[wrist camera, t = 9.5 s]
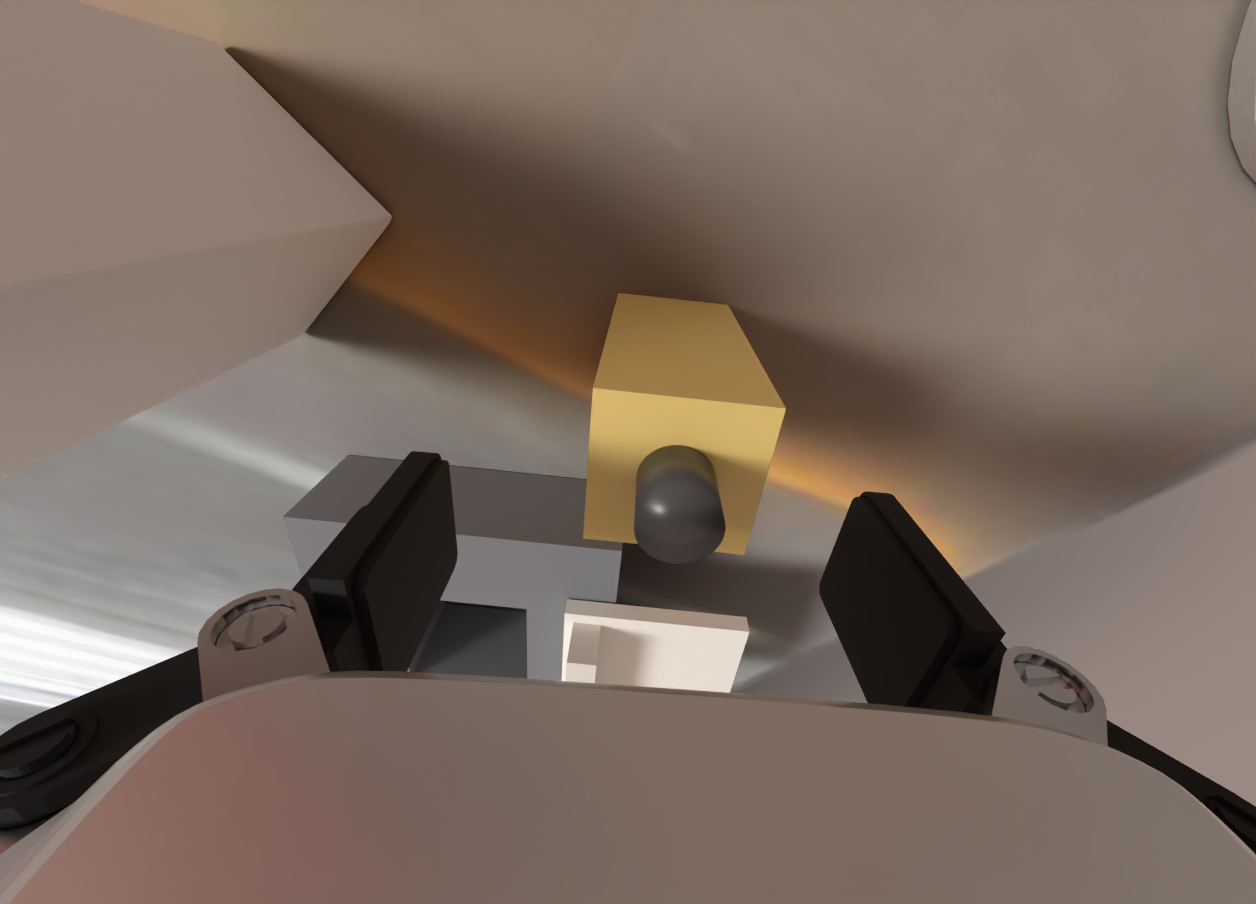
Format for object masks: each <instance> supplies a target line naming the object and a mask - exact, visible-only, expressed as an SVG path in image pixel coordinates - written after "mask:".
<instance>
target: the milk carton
mask: <svg viewBox="0 0 1256 904" xmlns="http://www.w3.org/2000/svg"><path fill="white" fill-rule="evenodd" d="M391 219H392V216H391V215H390V213H389V212H388V211H387V210H386V209H385V208H384V207H383V206H382V205H381V204H380V203H379V202H378V201H377V200H376V199H375V198H374V197H372V196H371V195H370V194H369V193H368V192H367V191H366V190H365V189H364V188H363V187H362V186H361V185H360V184H359V183H358V182H357V181H356V180H355V179H354V178H353V177H352V176H351V175H350V174H349V173H348V172H347V171H346V170H345V169H344V168H343V167H342V166H341V165H340V164H339V163H338V162H337V161H336V160H335V159H334V158H333V157H332V156H331V155H330V154H329V153H328V152H327V151H326V150H325V149H324V148H323V147H322V146H321V145H320V144H319V143H318V142H317V141H316V140H315V139H314V138H313V137H312V136H311V135H310V134H309V133H308V132H307V131H306V130H305V129H304V128H303V127H302V126H301V125H300V124H299V123H298V122H297V121H296V120H295V119H294V118H293V117H292V116H291V115H290V114H289V113H288V112H287V111H286V110H285V109H284V108H283V107H282V106H281V105H280V104H279V103H278V102H277V101H276V100H274V99H273V98H272V97H271V96H270V95H269V94H268V93H267V92H266V91H265V90H264V89H263V88H262V87H261V86H260V85H259V84H258V83H257V82H256V81H255V80H254V79H253V78H252V77H251V76H250V75H249V74H248V73H247V72H246V71H245V70H244V69H243V68H242V67H241V66H240V65H239V64H238V63H237V62H236V61H235V60H234V59H233V58H232V57H231V56H230V55H229V54H228V53H227V52H226V51H225V50H224V49H223V48H222V47H221V46H220V45H219V44H218V43H216V42H214V41H212V40H209V39H206V38H202V37H199V36H195V35H192V34H188V33H185V32H182V31H178V30H175V29H171V28H168V27H164V26H161V25H158V24H154V23H151V22H147V21H144V20H140V19H137V18H134V17H130V16H127V15H123V14H120V13H116V12H113V11H110V10H106V9H103V8H99V7H96V6H92V5H89V4H86V3H82V2H79V1H75V0H0V479H2V478H4V477H6V476H8V475H10V474H12V473H14V472H16V471H18V470H20V469H23V468H25V467H27V466H29V465H31V464H33V463H35V462H37V461H39V460H41V459H44V458H46V457H48V456H50V455H52V454H54V453H56V452H58V451H60V450H62V449H64V448H67V447H69V446H71V445H73V444H75V443H77V442H79V441H81V440H83V439H85V438H88V437H90V436H92V435H94V434H96V433H98V432H100V431H102V430H104V429H106V428H108V427H111V426H113V425H115V424H117V423H119V422H121V421H123V420H125V419H127V418H129V417H132V416H134V415H136V414H138V413H140V412H142V411H144V410H146V409H148V408H150V407H152V406H155V405H157V404H159V403H161V402H163V401H165V400H167V399H169V398H171V397H173V396H176V395H178V394H180V393H182V392H184V391H186V390H188V389H190V388H192V387H194V386H196V385H199V384H201V383H203V382H205V381H207V380H209V379H211V378H213V377H215V376H217V375H220V374H222V373H224V372H226V371H228V370H230V369H232V368H234V367H236V366H238V365H240V364H243V363H245V362H247V361H249V360H251V359H253V358H255V357H257V356H259V355H261V354H264V353H266V352H268V351H270V350H272V349H274V348H276V347H278V346H280V345H282V344H284V343H287V342H289V341H291V340H293V339H295V338H297V337H299V336H301V335H302V334H303V333H304V332H305V331H306V330H307V329H308V328H309V326H310V325H311V324H312V323H313V321H314V320H315V319H316V317H317V316H318V315H319V314H320V312H321V311H322V310H323V308H324V307H325V306H326V305H327V303H328V302H329V301H330V299H331V298H332V297H333V296H334V294H335V293H336V292H337V290H338V289H339V288H340V287H341V285H342V284H343V283H344V281H345V280H346V279H347V278H348V276H349V275H350V274H351V272H352V271H353V270H354V269H355V267H356V266H357V265H358V263H359V262H360V261H361V260H362V258H363V257H364V256H365V254H366V253H367V252H368V251H369V249H370V248H371V247H372V245H373V244H374V243H375V241H376V240H377V239H378V238H379V236H380V235H381V234H382V232H383V231H384V230H385V228H386V227H387V226H388V224H389V223H390V221H391Z"/></svg>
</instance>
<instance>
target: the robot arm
mask: <svg viewBox="0 0 1256 904" xmlns="http://www.w3.org/2000/svg"><path fill="white" fill-rule="evenodd" d="M1228 112H1229V122H1230V132H1231V139H1232V142H1233V144H1234V147H1235V149H1236V152H1237V154H1238V157H1239V159H1240V162H1241V165H1242V167H1243V168H1244V170H1245V171H1246V172H1247V173H1248V174H1249V175H1250V177H1251V178H1252V179H1253V180H1254V181H1255V182H1256V0H1252V1H1251V3H1250V5H1249V7H1248V10H1247V12H1246V16H1245V19H1244V23H1243V26H1242V29H1241V33H1240V36H1239V40H1238V43H1237V47H1236V50H1235V53H1234V57H1233V60H1232V69H1231V78H1230V86H1229V95H1228ZM457 556H458V550H457V540H456V529H455V519H454V509H453V498H452V488H451V477H450V467H449V463H448V461H446V460H442V459H441V456H440V455H439V454H438V453H427V452H416V451H413V452H411V453H410V454H409V455H408V456H407V457H406V458H405V460H404V461H403V462H402V463H401V464H400V466H399V467H398V468H397V469H396V471H395V472H394V473H393V474H392V475H391V477H390V478H389V479H388V480H387V482H386V483H385V484H384V485H383V486H382V488H381V489H380V490H379V491H378V493H377V494H376V495H375V496H374V497H373V499H372V500H371V501H370V502H369V504H368V505H366V506H363V507H361V508H360V509H359V510H358V511H357V512H356V513H355V515H354V516H353V517H352V518H351V519H350V521H349V522H348V523H347V524H346V525H345V527H344V528H343V529H342V530H341V531H340V533H339V534H338V535H337V536H336V537H335V539H334V540H333V541H332V542H331V543H330V545H329V546H328V547H327V548H326V549H325V551H324V552H323V553H322V554H321V555H320V557H319V558H318V559H317V560H316V561H315V563H314V564H313V565H312V566H311V567H310V569H309V570H308V571H307V572H306V573H305V575H304V576H303V577H302V578H301V579H300V581H299V582H298V583H297V584H296V585H295V587H294V588H293V589H292V590H288V589H281V588H279V589H266V590H262V591H258V592H254V593H250V594H247V595H245V596H243V597H240V598H238V599H236V600H233V601H232V602H230V603H228V604H227V605H225V606H224V607H222V608H220V609H219V610H218V611H217V612H215V613H214V614H213V615H212V616H211V617H210V618H209V619H208V620H207V621H206V622H205V624H204V626H203V627H202V629H201V630H200V632H199V637H198V642H197V644H198V647H196V648H194V649H191V650H189V651H186V652H184V653H182V654H179V655H177V656H175V657H172V658H170V659H167V660H165V661H163V662H160V663H158V664H156V665H153V666H151V667H148V668H146V669H144V670H141V671H139V672H137V673H134V674H132V675H129V676H127V677H125V678H122V679H120V680H118V681H115V682H113V683H110V684H108V685H106V686H103V687H101V688H99V689H96V690H94V691H91V692H89V693H87V694H84V695H82V696H80V697H77V698H75V699H72V700H70V701H68V702H65V703H63V704H61V705H58V706H56V707H53V708H51V709H49V710H46V711H44V712H42V713H39V714H37V715H35V716H33V717H31V718H29V719H27V720H25V721H23V722H21V723H19V724H17V725H16V726H14V727H13V728H11V729H10V730H8V731H7V732H5V733H4V734H2V735H1V736H0V904H1256V807H1255V806H1254V805H1252V804H1251V803H1249V802H1247V801H1245V800H1244V799H1242V798H1241V797H1239V796H1238V795H1236V794H1235V793H1233V792H1231V791H1229V790H1228V789H1226V788H1224V787H1222V786H1221V785H1219V784H1217V783H1215V782H1214V781H1212V780H1210V779H1209V778H1207V777H1205V776H1203V775H1201V774H1200V773H1198V772H1196V771H1195V770H1193V769H1191V768H1189V767H1188V766H1186V765H1184V764H1182V763H1181V762H1179V761H1177V760H1175V759H1174V758H1172V757H1170V756H1169V755H1167V754H1165V753H1163V752H1162V751H1160V750H1158V749H1156V748H1155V747H1153V746H1151V745H1149V744H1148V743H1146V742H1144V741H1142V740H1141V739H1139V738H1137V737H1136V736H1134V735H1132V734H1130V733H1129V732H1127V731H1125V730H1123V729H1121V728H1120V727H1118V726H1116V725H1115V724H1113V723H1111V722H1109V721H1107V716H1106V707H1105V704H1104V700H1103V698H1102V696H1101V695H1100V694H1099V692H1098V691H1097V689H1096V688H1095V686H1093V684H1092V683H1090V681H1089V680H1088V679H1087V678H1086V677H1085V676H1084V675H1082V674H1081V673H1080V672H1078V671H1077V670H1076V669H1074V668H1073V667H1072V666H1071V665H1069V664H1067V663H1066V662H1064V661H1062V660H1060V659H1059V658H1057V657H1055V656H1053V655H1051V654H1048V653H1046V652H1044V651H1041V650H1038V649H1034V648H1030V647H1023V646H1021V647H1019V646H1016V647H1012V648H1010V649H1007V648H1006V647H1005V646H1004V645H1003V643H1002V642H1001V641H1000V640H1001V639H1002V638H1003V636H1004V635H1005V632H1004V630H1003V629H1002V628H1001V627H1000V625H999V624H998V623H997V622H996V621H995V619H994V618H993V617H992V616H991V614H990V613H989V612H988V611H987V610H986V608H985V607H984V606H983V605H982V603H981V602H980V601H979V600H978V599H977V597H976V596H975V595H974V594H973V592H972V591H971V590H970V589H969V587H968V586H967V585H966V584H965V583H964V581H963V580H962V579H961V578H960V576H959V575H958V574H957V573H956V572H955V570H954V569H953V568H952V567H951V565H950V564H949V563H948V562H947V561H946V559H945V558H944V557H943V556H942V554H941V553H940V552H939V551H938V550H937V548H936V547H935V546H934V545H933V543H932V542H931V541H930V540H929V538H928V537H927V536H926V535H925V534H924V532H923V531H922V530H921V529H920V527H919V526H918V525H917V524H916V523H915V521H914V520H913V519H912V518H911V516H910V515H909V514H908V513H907V512H906V510H905V509H904V508H903V507H902V505H901V504H900V503H899V502H898V501H897V499H896V498H895V497H894V496H893V495H892V494H888V493H877V492H863V493H862V494H861V495H860V497H855V498H854V499H853V500H852V502H851V505H850V507H849V510H848V512H847V515H846V517H845V520H844V522H843V525H842V528H841V530H840V533H839V535H838V538H837V540H836V543H835V545H834V548H833V551H832V553H831V556H830V558H829V561H828V563H827V566H826V568H825V571H824V574H823V576H822V579H821V581H820V587H819V588H820V596H821V599H822V601H823V603H824V606H825V608H826V610H827V612H828V615H829V617H830V619H831V621H832V624H833V626H834V628H835V630H836V632H837V635H838V637H839V639H840V641H841V644H842V646H843V648H844V650H845V653H846V655H847V657H848V659H849V662H850V664H851V666H852V668H853V671H854V673H855V675H856V677H857V680H858V682H859V684H860V686H861V689H862V691H863V693H864V695H865V698H866V700H867V702H868V703H856V702H843V701H831V700H818V699H805V698H791V697H778V696H766V695H753V694H740V693H726V692H713V691H699V690H685V689H672V688H658V687H644V686H630V685H616V684H601V683H586V682H571V681H556V680H541V679H526V678H512V677H497V676H481V675H461V674H442V673H422V672H407V671H408V669H409V666H410V664H411V662H412V660H413V658H414V656H415V653H416V651H417V649H418V647H419V645H420V643H421V640H422V638H423V636H424V634H425V632H426V630H427V627H428V625H429V623H430V621H431V619H432V617H433V614H434V612H435V610H436V608H437V606H438V603H439V601H440V599H441V597H442V595H443V593H444V590H445V588H446V586H447V584H448V582H449V580H450V577H451V575H452V573H453V571H454V569H455V566H456V563H457Z"/></svg>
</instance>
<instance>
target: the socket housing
mask: <svg viewBox="0 0 1256 904" xmlns="http://www.w3.org/2000/svg"><path fill="white" fill-rule="evenodd" d="M402 462H403V461H401V460H391V459H381V458H372V457H362V456H352V455H348V456H347V457H346V458H344V459H343V460H342V461H341V462H340V463H339V464H338V465H337V466H336V467H335V468H334V469H333V470H332V471H331V472H330V473H329V474H328V475H326V476H325V477H324V478H323V479H322V480H321V481H320V482H319V483H318V484H317V485H316V486H315V487H314V488H313V489H312V490H311V491H310V492H308V493H307V494H306V495H305V496H304V497H303V498H302V499H301V500H300V501H299V502H298V503H297V504H296V505H295V506H294V507H293V508H292V509H290V510H289V511H288V512H287V513H286V514H285V515H284V516H283V519H284V522H285V525H286V528H287V531H288V534H289V537H290V540H291V543H292V546H293V550H294V553H295V556H296V559H297V562H298V565H299V568H300V571H301V574H302V577H303V576H304V575H305V573H306V572H307V571H308V570H309V569H310V567H311V566H312V565H313V564H314V563H315V561H316V560H317V559H318V558H319V557H320V555H321V554H322V553H323V552H324V551H325V549H326V548H327V547H328V546H329V545H330V543H331V542H332V541H333V540H334V539H335V537H336V536H337V535H338V534H339V533H340V531H341V530H342V529H343V528H344V527H345V525H346V524H347V523H348V522H349V521H350V519H351V518H352V517H353V516H354V515H355V513H356V512H357V511H358V510H359V509H360V508H361V507H363V506H366V505H368V504H369V502H370V501H371V500H372V499H373V497H374V496H375V495H376V494H377V493H378V491H379V490H380V489H381V488H382V486H383V485H384V484H385V483H386V482H387V480H388V479H389V478H390V477H391V475H392V474H393V473H394V472H395V471H396V469H397V468H398V467H399V466H400V464H401V463H402ZM449 467H450V477H451V488H452V498H453V509H454V519H455V529H456V540H457V550H458V556H457V563H456V566H455V569H454V571H453V573H452V575H451V577H450V580H449V582H448V584H447V586H446V588H445V590H444V593H443V595H442V597H441V599H440V601H439V603H438V606H437V608H436V610H435V612H434V614H433V617H432V619H431V621H430V623H429V625H428V627H427V630H426V632H425V634H424V636H423V638H422V640H421V643H420V645H419V647H418V649H417V651H416V653H415V656H414V658H413V660H412V662H411V664H410V666H409V669H408V671H407V672H422V673H442V674H461V675H481V676H497V677H512V678H526V679H541V680H556V681H562V660H563V637H564V615H565V609H566V603H567V599H571V600H581V601H591V602H601V603H611V604H616V597H617V589H618V581H619V572H620V564H621V555H622V545H623V542H614V541H604V540H595V539H585V538H583V532H584V516H585V501H586V485H587V480H584V479H575V478H565V477H555V476H546V475H536V474H526V473H517V472H507V471H497V470H488V469H478V468H468V467H459V466H449ZM446 601H452V602H462V603H472V604H482V605H492V606H502V607H512V608H522V609H527V612H524V611H514V610H504V609H494V608H484V607H474V606H464V605H454V604H446Z"/></svg>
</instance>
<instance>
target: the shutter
mask: <svg viewBox="0 0 1256 904" xmlns="http://www.w3.org/2000/svg"><path fill="white" fill-rule="evenodd" d="M749 632H750V631H749V627H748V622H747V617H740V616H730V615H720V614H710V613H700V612H690V611H680V610H670V609H660V608H651V607H641V606H631V605H621V604H611V603H601V602H591V601H581V600H571V599H567V603H566V609H565V615H564V637H563V660H562V681H571V682H586V683H601V684H616V685H630V686H644V687H658V688H672V689H685V690H699V691H713V692H726V693H730V690H731V687H732V684H733V681H734V678H735V675H736V672H737V669H738V666H739V663H740V659H741V656H742V653H743V650H744V647H745V644H746V641H747V638H748V635H749Z"/></svg>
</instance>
